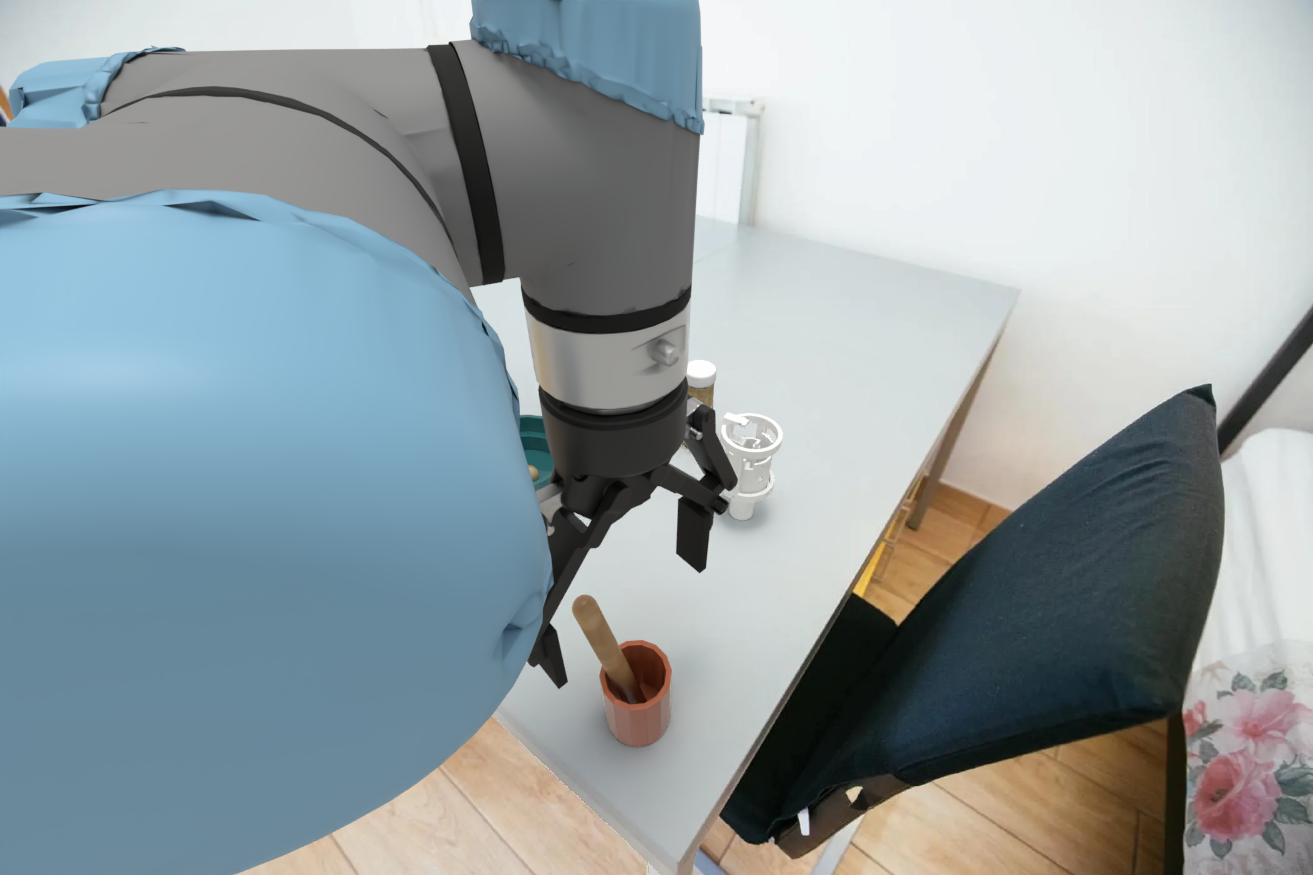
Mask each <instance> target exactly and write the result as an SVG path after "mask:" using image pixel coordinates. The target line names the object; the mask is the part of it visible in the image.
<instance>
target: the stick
mask: <svg viewBox="0 0 1313 875" xmlns="http://www.w3.org/2000/svg"><path fill="white" fill-rule="evenodd" d="M571 613H572V615H573V617H574V619H575V621H576V623H577V624H578V626H579V628H580V629H581V631H582V633H583V634H584V636H585V638H586V640H587V642H588V643H589V645H590V647H591V648H592V651H593V652H594V654H595V656H596V658H597V660H598V661H599V663H600V664H601V667H602V666H603V668H604V670H605V671H606V673H607V675H608V677H609V678H610V680H611V682H612V684H613V685H614V687H615V689H616V691H617V692H618V694H619V696H620V698H621V699H622V701H623V702H625V703H628V704H642V703H646V702H647V699H646V697H645V695H644V693H643V692H642V690H641V688H640V686H639V684H638V682H637V680H636V678H635V676H634V674H633V672H632V670H631V668H630V666H629V664H628V662H627V660H626V658H625V656H624V654H623V652H622V651H621V649H620V647H619V645H620V644H619V642H618V641H617V639H616V637H615V635H614V633H613V631H612V629H611V627H610V626H609V623H608V621H607V619H606V618H605V615H604V613H603V612H602V610H601V607H600V606H599V604H598V601H597V600H596V598H594V597H593V596H592V595H590V594H581V595H579V596H577V597H576V598H575V599H574V600H573V601H572V605H571Z"/></svg>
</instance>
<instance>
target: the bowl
mask: <svg viewBox="0 0 1313 875" xmlns="http://www.w3.org/2000/svg"><path fill="white" fill-rule="evenodd" d="M519 435H520V439H521V442H522V446H523V449H524V453H525V457H526V460H527V464H528V465H532V466H534V467H536V468H537V470H538V472H539V479H538V480H537V481H534V482H533V485H534V489H535V491H537V490H539V489H542V488H544V487H546V486H548V485H549V481H550V477H551V475H552V471H553V466H554V463H553V459H552V456H551V453H550V450H549V447H548V444H547V440H546V434H545V429H544V423H543V417H542V415H535V414H520V432H519Z"/></svg>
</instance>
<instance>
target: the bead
mask: <svg viewBox="0 0 1313 875" xmlns="http://www.w3.org/2000/svg"><path fill="white" fill-rule="evenodd" d="M528 467H529V471H530V474H531V478H532V481H533V482H534V481H537V480H538V479H539V472H538V470H537V468H536V467H534V466H532V465H528Z"/></svg>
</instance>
